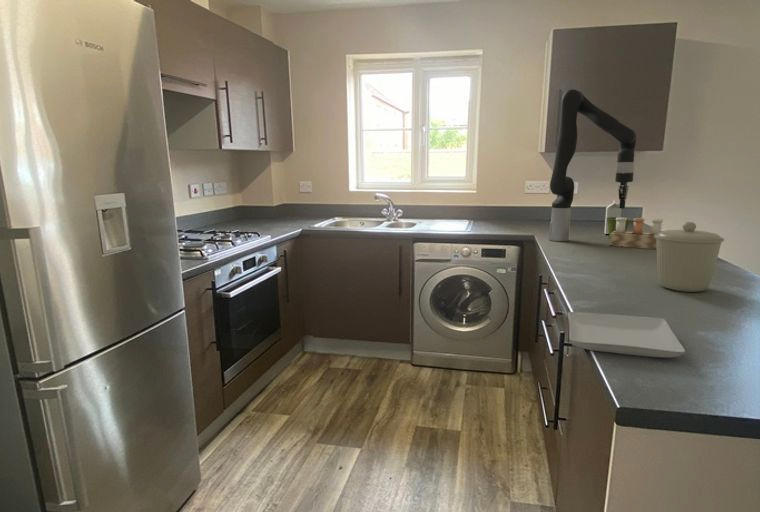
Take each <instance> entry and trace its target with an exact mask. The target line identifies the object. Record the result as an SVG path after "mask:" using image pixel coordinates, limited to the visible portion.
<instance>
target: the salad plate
mask: <svg viewBox="0 0 760 512" xmlns="http://www.w3.org/2000/svg"><path fill="white" fill-rule="evenodd" d="M567 318H568V319H567V320H568V325H569V331H568V332H569V333H568V336H569V337H568V339H569V341H570V342H571V344H572V345H574V346H575V347H577V348H579V349H583V350H588V351H593V352H604V353H610V354H611V353H612V354H619V355H628V356H638V357H649V358H650V357H651V358H663V359H664V358H666V359H667V358H669V359H670V358H676V357H679V356H682V355H684V354H686V350H685V348H684V346H683V345H682V344H681V342H680V341H679V339H678V338H677V336H676V335H675V333H674V332H673V330H672V329H671V327H670V325H669V324H668V322H667V321H666V319H664V318H662V317H661V318H659V317H650V316H649V317H647V316H637V315H624V314H611V313H594V312H583V311H582V312H581V311H579V312H578V311H568V313H567Z"/></svg>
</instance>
